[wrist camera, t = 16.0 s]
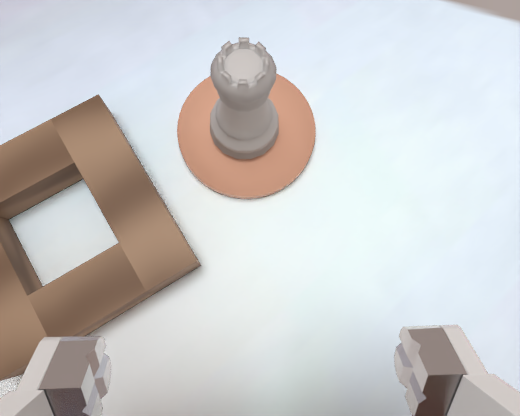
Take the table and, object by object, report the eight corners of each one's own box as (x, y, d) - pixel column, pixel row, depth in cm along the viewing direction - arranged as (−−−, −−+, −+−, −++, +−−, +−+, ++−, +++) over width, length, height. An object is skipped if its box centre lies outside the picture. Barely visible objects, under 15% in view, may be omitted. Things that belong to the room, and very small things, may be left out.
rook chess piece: (271, 168, 27) (280, 113, 20) (202, 154, 27) (185, 93, 20) (284, 105, 28) (298, 29, 21) (218, 92, 28) (208, 10, 21)
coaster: (154, 112, 29) (152, 107, 28) (267, 51, 30) (268, 45, 29) (223, 224, 27) (222, 222, 26) (339, 155, 29) (342, 150, 28)
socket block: (-61, 203, 27) (-92, 192, 25) (111, 112, 29) (98, 94, 26) (21, 374, 25) (-3, 381, 22) (201, 265, 27) (196, 261, 24)
